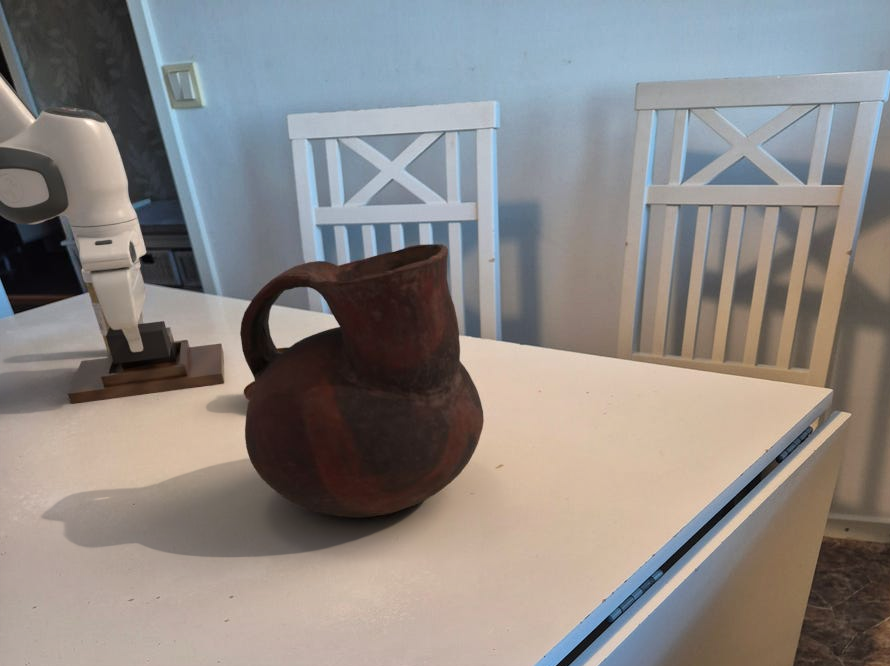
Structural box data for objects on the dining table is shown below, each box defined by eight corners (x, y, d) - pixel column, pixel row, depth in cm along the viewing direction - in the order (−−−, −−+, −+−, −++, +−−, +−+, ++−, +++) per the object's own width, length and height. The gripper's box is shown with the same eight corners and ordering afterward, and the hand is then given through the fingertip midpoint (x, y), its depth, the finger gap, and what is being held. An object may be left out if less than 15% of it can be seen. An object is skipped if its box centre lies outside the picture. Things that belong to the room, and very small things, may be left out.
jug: (345, 435, 107) (312, 220, 92) (523, 465, 97) (517, 228, 82) (211, 522, 90) (143, 274, 75) (411, 569, 79) (378, 293, 65)
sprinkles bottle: (134, 353, 141) (108, 268, 133) (105, 357, 140) (78, 271, 132) (135, 346, 144) (111, 262, 136) (108, 349, 143) (81, 265, 135)
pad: (114, 364, 123) (105, 336, 121) (117, 354, 127) (108, 327, 125) (170, 357, 125) (162, 329, 122) (171, 347, 129) (164, 320, 126)
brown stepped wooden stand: (70, 403, 122) (57, 366, 119) (84, 370, 135) (72, 335, 132) (224, 383, 126) (215, 346, 123) (223, 352, 139) (215, 318, 135)
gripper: (95, 232, 125) (123, 328, 133) (77, 260, 108) (110, 367, 117) (139, 228, 126) (164, 323, 134) (128, 255, 109) (157, 361, 118)
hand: (139, 344), depth 125 cm, fingers open, 5 cm apart
